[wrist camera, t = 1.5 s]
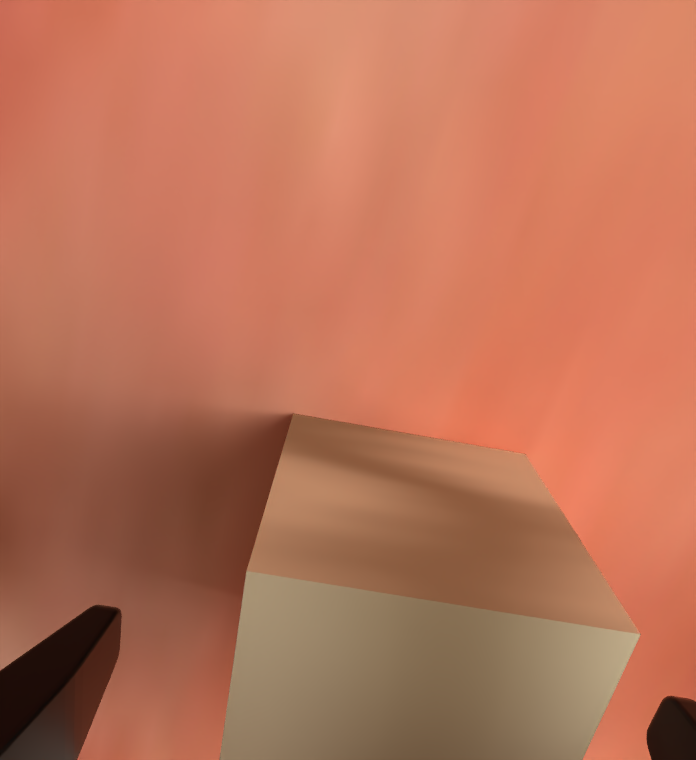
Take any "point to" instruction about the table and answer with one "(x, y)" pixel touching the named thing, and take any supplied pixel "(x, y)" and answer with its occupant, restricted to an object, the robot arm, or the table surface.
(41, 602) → the table surface
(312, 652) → the birch cube
